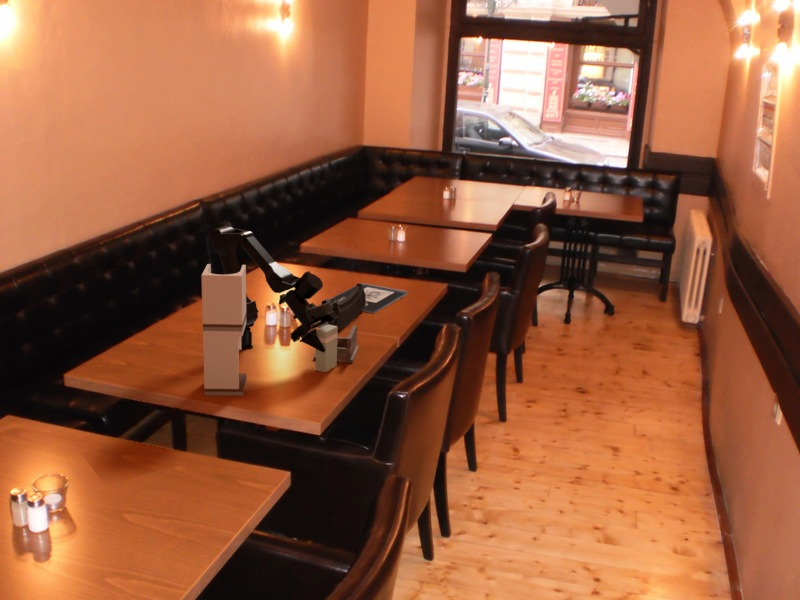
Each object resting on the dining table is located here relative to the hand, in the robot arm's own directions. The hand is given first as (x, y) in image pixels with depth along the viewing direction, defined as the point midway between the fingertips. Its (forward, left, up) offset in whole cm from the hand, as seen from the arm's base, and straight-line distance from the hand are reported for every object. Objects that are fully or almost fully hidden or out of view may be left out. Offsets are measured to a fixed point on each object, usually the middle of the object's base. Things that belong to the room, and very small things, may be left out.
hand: (330, 348), depth 259 cm
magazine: (+30, +36, -7) cm, 47 cm away
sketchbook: (+51, +55, -7) cm, 75 cm away
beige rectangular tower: (-33, +3, -7) cm, 34 cm away
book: (-1, +1, -7) cm, 7 cm away
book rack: (+8, +10, -7) cm, 15 cm away
